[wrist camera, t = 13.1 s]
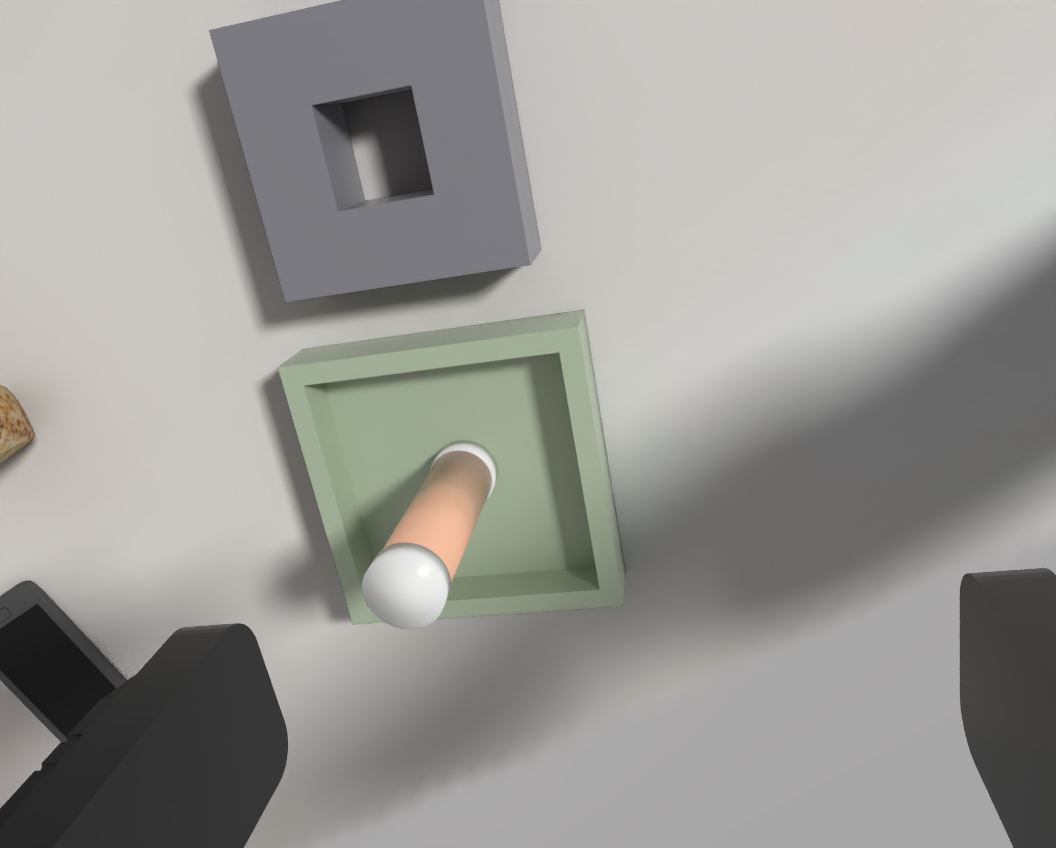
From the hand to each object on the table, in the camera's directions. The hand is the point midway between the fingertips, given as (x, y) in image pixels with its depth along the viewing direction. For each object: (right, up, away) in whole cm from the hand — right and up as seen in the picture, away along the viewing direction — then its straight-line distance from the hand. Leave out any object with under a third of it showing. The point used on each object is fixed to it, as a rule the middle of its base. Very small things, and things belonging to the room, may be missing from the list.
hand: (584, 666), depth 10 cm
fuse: (-4, +1, +32) cm, 32 cm away
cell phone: (-29, -13, +43) cm, 54 cm away
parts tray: (-4, +1, +33) cm, 33 cm away
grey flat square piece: (-6, +15, +28) cm, 32 cm away
